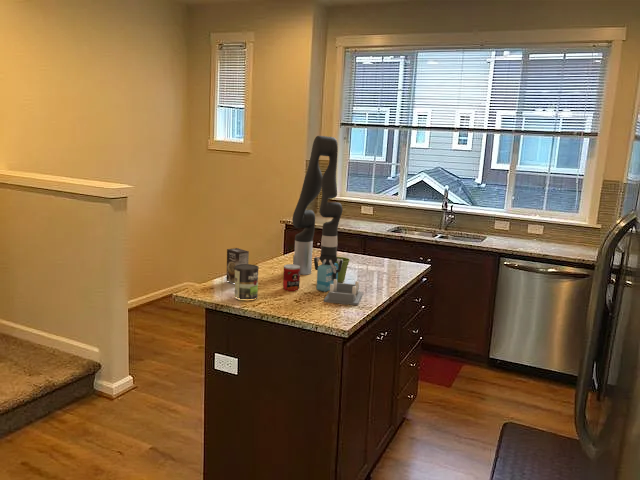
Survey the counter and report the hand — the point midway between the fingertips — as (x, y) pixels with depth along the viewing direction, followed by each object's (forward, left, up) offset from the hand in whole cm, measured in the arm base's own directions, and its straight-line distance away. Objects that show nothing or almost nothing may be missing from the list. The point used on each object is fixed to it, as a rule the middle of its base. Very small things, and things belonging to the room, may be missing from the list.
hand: (327, 279), depth 262 cm
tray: (+10, -12, -5) cm, 16 cm away
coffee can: (-31, -27, -5) cm, 41 cm away
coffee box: (-43, -5, -5) cm, 44 cm away
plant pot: (+2, +17, -5) cm, 18 cm away
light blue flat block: (0, 0, -5) cm, 5 cm away
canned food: (-16, -6, -5) cm, 18 cm away
